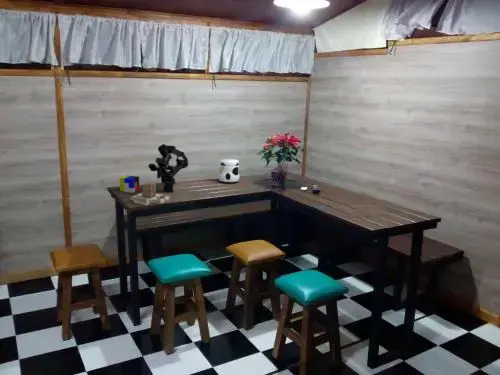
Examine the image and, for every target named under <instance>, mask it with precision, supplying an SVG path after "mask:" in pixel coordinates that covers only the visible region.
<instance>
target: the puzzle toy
mask: <svg viewBox="0 0 500 375" xmlns="http://www.w3.org/2000/svg"><path fill="white" fill-rule="evenodd" d="M139 190H140V176H137V175H124V176H122V177H119V192H120V191H123V193H133V194H134V193H135V191H136V192H137V191H139Z"/></svg>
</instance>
